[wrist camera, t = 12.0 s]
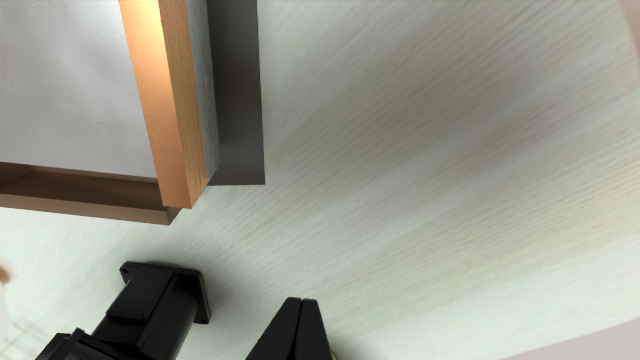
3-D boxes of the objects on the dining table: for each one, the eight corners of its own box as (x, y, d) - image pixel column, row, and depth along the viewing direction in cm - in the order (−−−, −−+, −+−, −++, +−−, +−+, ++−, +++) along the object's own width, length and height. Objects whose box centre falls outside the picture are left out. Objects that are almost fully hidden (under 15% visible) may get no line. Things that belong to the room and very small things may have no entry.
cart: (229, 149, 18) (191, 208, 14) (37, 129, 18) (-67, 182, 14) (217, -13, 14) (156, -8, 9) (-35, -40, 14) (-223, -49, 9)
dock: (269, 188, 21) (250, 234, 18) (48, 166, 22) (-15, 205, 18) (258, -77, 14) (222, -95, 10) (-76, -97, 15) (-227, -121, 11)
